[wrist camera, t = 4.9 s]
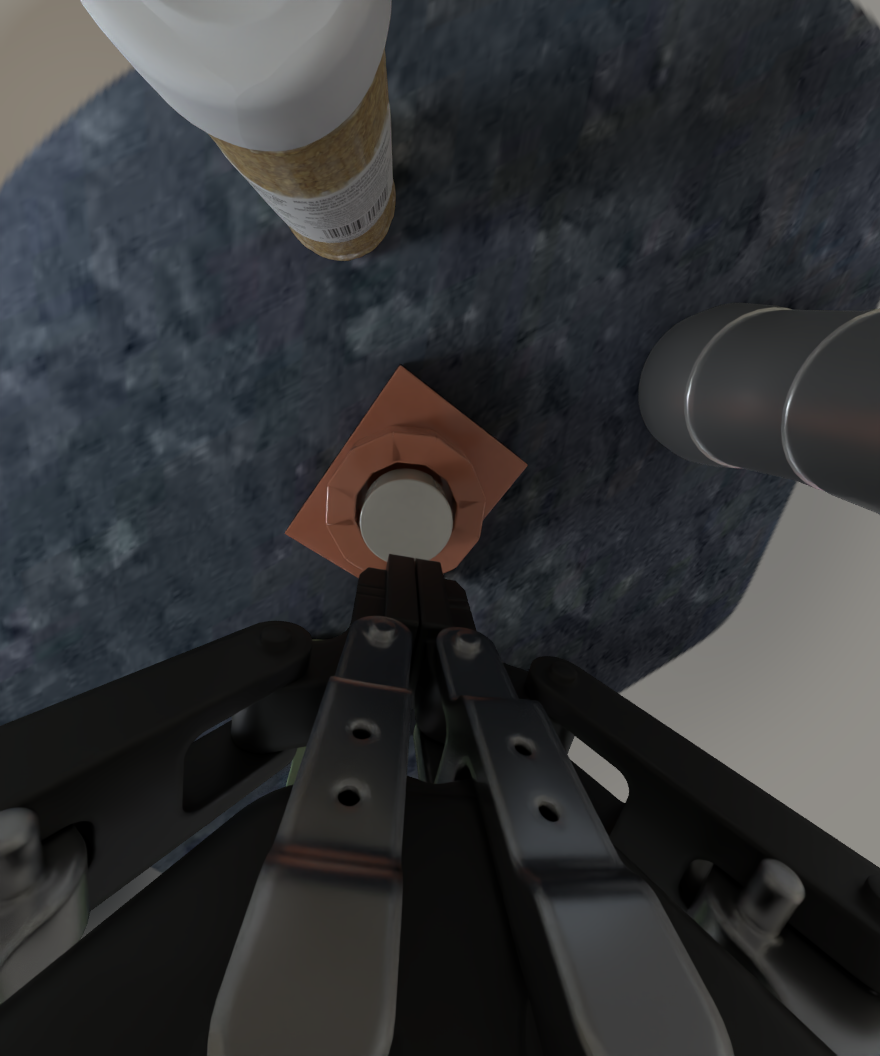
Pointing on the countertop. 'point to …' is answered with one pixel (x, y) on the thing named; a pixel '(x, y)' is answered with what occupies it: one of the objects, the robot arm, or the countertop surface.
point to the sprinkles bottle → (279, 101)
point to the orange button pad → (407, 442)
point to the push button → (406, 515)
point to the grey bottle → (772, 395)
